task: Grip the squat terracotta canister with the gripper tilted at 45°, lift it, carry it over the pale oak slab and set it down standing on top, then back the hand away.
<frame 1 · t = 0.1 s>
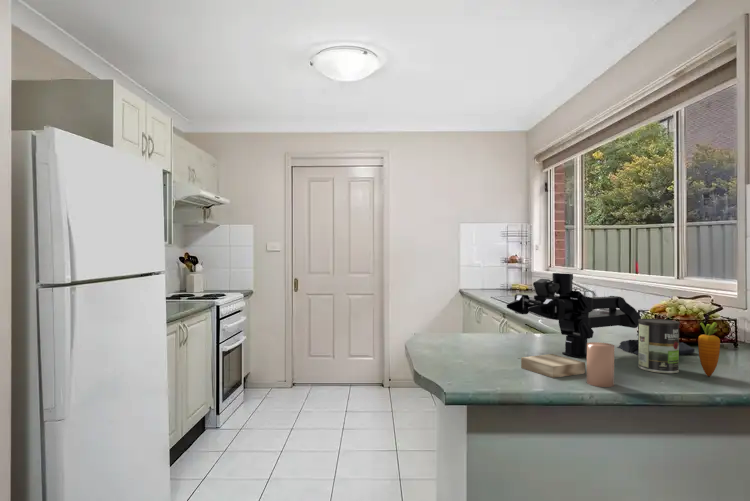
hand: (517, 307, 146), 17 cm above the countertop, tool horizontal, fingers open, 9 cm apart
terracotta canister: (600, 383, 124), on the countertop
oak slab: (552, 370, 137), on the countertop
carrot: (708, 377, 132), on the countertop
dark slate chunk: (655, 353, 166), on the countertop
coffee can: (658, 369, 140), on the countertop
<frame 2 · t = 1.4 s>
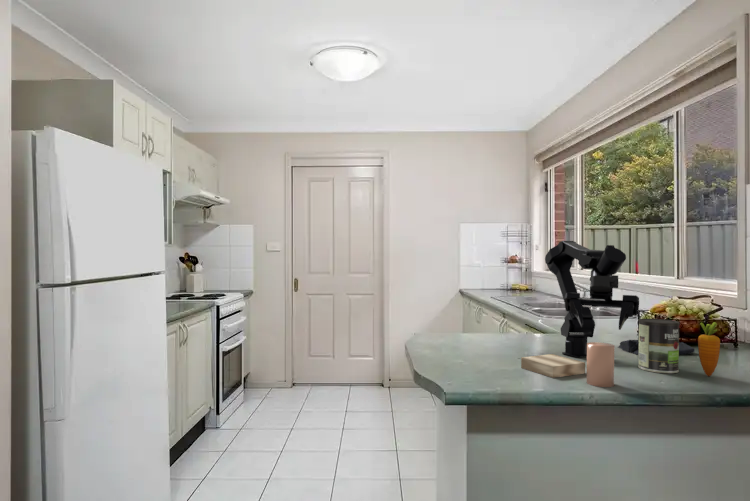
hand: (600, 327, 131), 13 cm above the countertop, tool tilted 45°, fingers open, 9 cm apart
nothing on the countertop moved.
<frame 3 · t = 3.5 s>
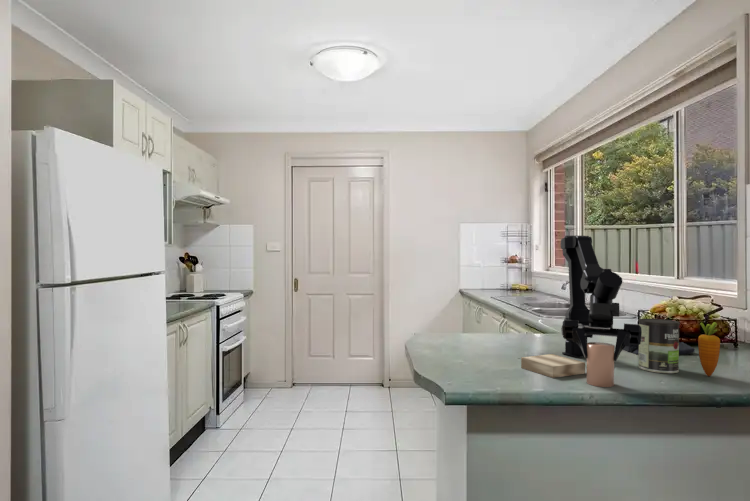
hand: (600, 358, 122), 7 cm above the countertop, tool tilted 45°, fingers closed on terracotta canister, 6 cm apart
terracotta canister: (600, 383, 124), on the countertop, touching gripper
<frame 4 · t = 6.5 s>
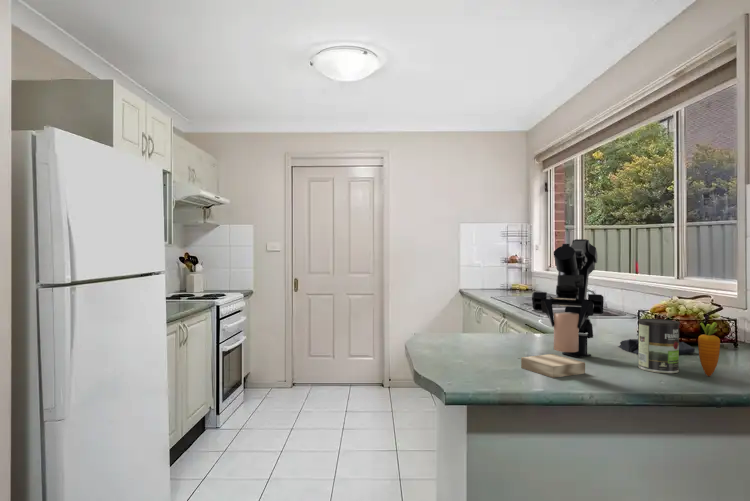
hand: (565, 326, 132), 13 cm above the countertop, tool tilted 45°, fingers closed on terracotta canister, 6 cm apart
terracotta canister: (565, 349, 133), point 7 cm above the countertop, touching gripper
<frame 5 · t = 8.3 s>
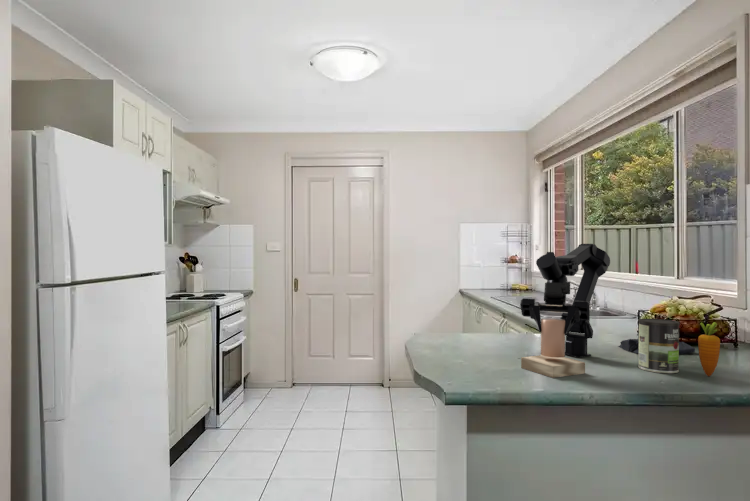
hand: (552, 332, 136), 11 cm above the countertop, tool tilted 45°, fingers closed on terracotta canister, 6 cm apart
terracotta canister: (552, 354, 137), point 4 cm above the countertop, touching gripper
when the fingers open (11 cm above the countertop, at t = 9.6 s): terracotta canister drops 1 cm, resting on oak slab.
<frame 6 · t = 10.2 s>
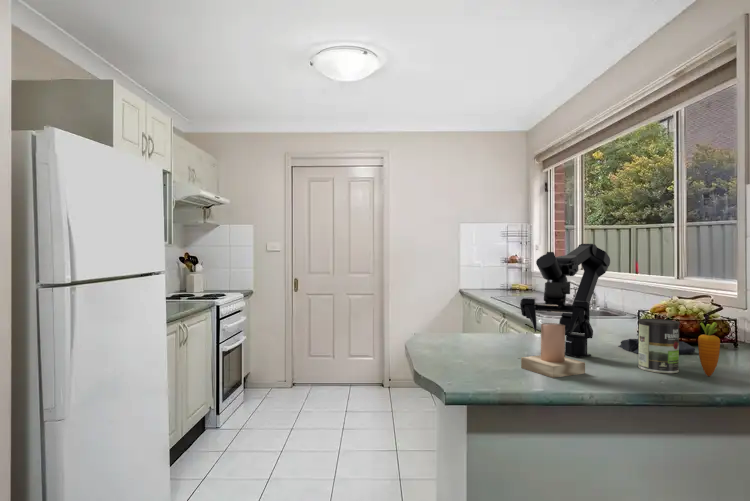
hand: (552, 332, 135), 11 cm above the countertop, tool tilted 45°, fingers open, 9 cm apart
terracotta canister: (552, 359, 137), point 3 cm above the countertop, touching oak slab
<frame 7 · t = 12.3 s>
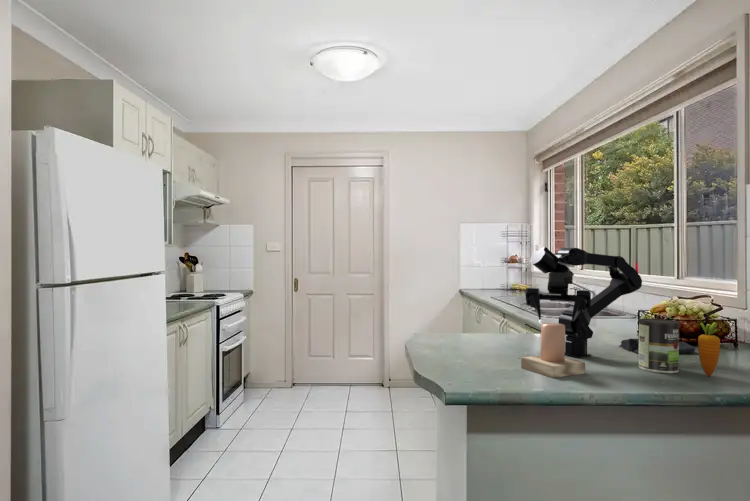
hand: (556, 319, 144), 13 cm above the countertop, tool tilted 45°, fingers open, 9 cm apart
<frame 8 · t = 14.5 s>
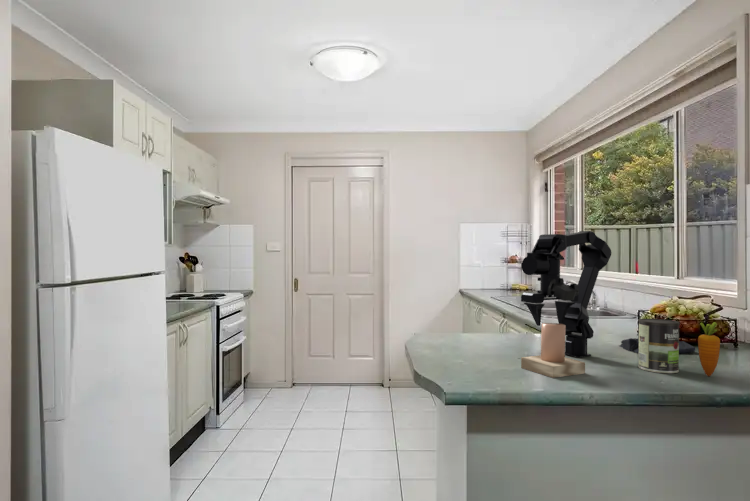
hand: (549, 324, 150), 11 cm above the countertop, tool pointing down, fingers open, 9 cm apart
at the end: terracotta canister inside the target area on the oak slab (0.1 cm from its centre), point 3.1 cm above the oak slab's base; terracotta canister tilted 1°; the gripper is holding nothing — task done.
